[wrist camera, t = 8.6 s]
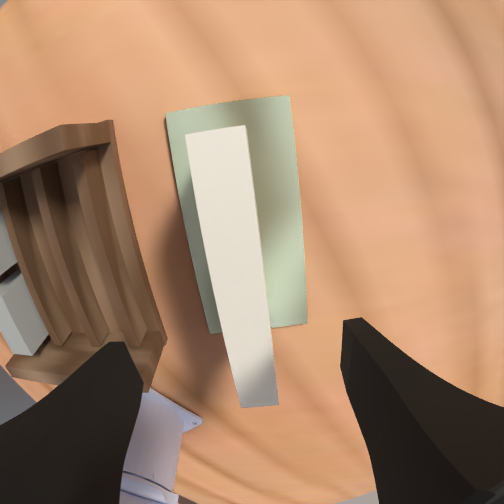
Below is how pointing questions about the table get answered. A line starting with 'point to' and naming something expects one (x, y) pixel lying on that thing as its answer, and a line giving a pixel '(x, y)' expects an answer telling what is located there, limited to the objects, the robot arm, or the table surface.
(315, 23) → the table surface
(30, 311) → the offcut
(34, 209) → the rack
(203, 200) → the cream rectangular slab
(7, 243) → the offcut
